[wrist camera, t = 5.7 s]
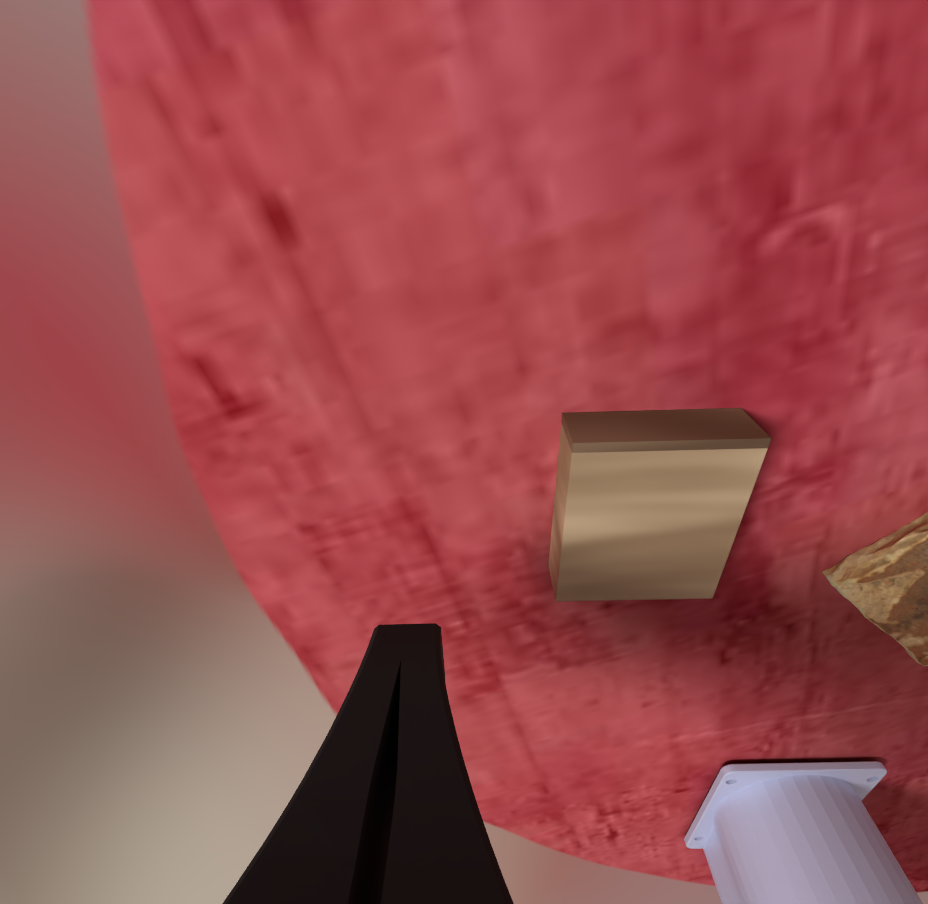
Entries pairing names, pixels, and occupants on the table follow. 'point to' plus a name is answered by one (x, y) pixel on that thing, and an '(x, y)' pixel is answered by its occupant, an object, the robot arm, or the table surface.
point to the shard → (891, 585)
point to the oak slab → (650, 501)
